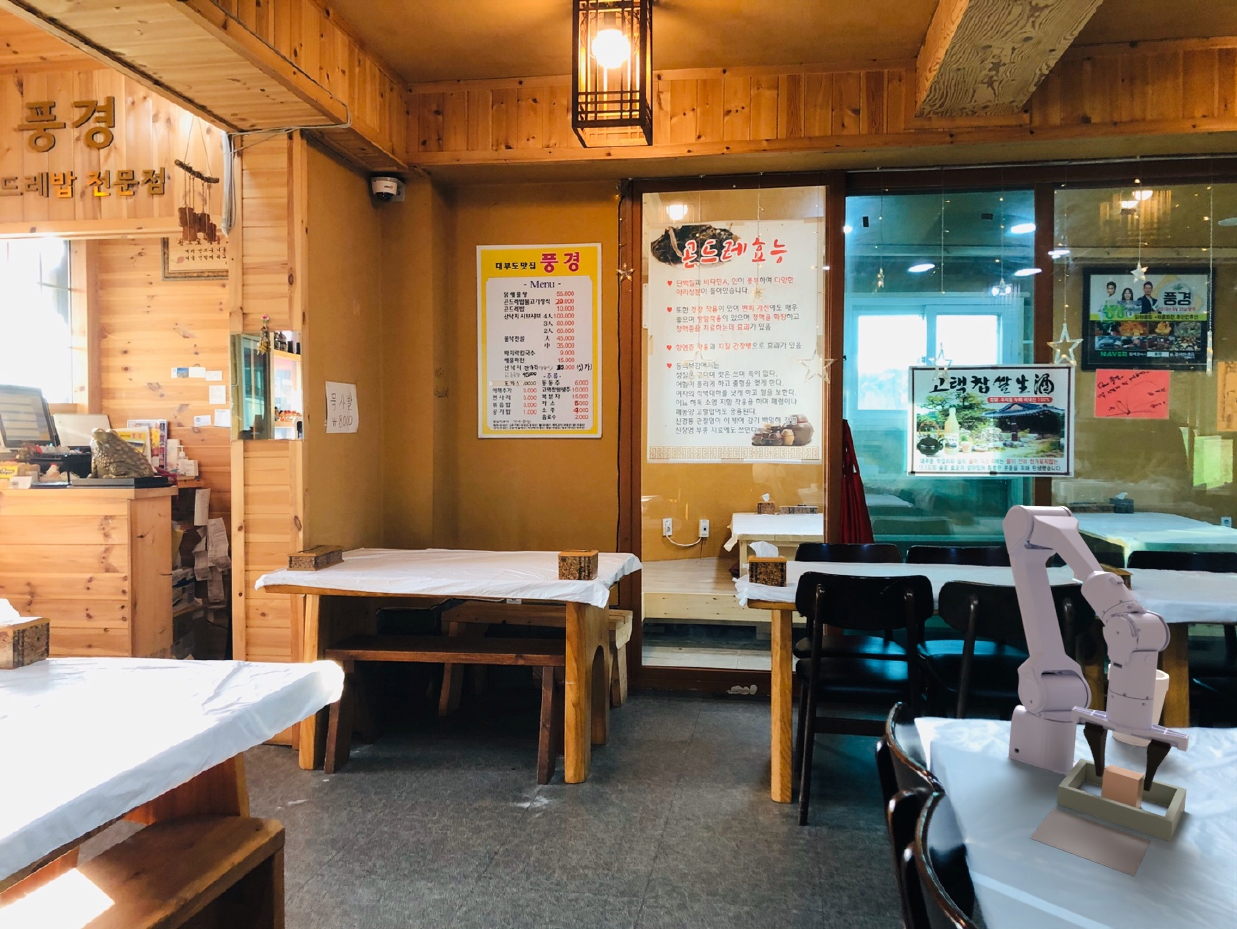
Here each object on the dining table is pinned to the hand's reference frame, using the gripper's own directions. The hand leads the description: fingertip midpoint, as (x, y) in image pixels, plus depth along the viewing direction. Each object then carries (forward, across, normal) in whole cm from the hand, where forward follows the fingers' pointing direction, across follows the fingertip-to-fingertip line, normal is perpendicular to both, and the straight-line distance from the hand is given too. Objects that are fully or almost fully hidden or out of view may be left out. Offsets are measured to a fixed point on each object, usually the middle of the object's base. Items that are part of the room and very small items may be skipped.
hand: (1123, 781), depth 116 cm
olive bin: (+4, 0, 0) cm, 4 cm away
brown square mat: (+4, -1, -15) cm, 16 cm away
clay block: (+4, 0, 0) cm, 4 cm away
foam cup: (+5, -4, +34) cm, 35 cm away
